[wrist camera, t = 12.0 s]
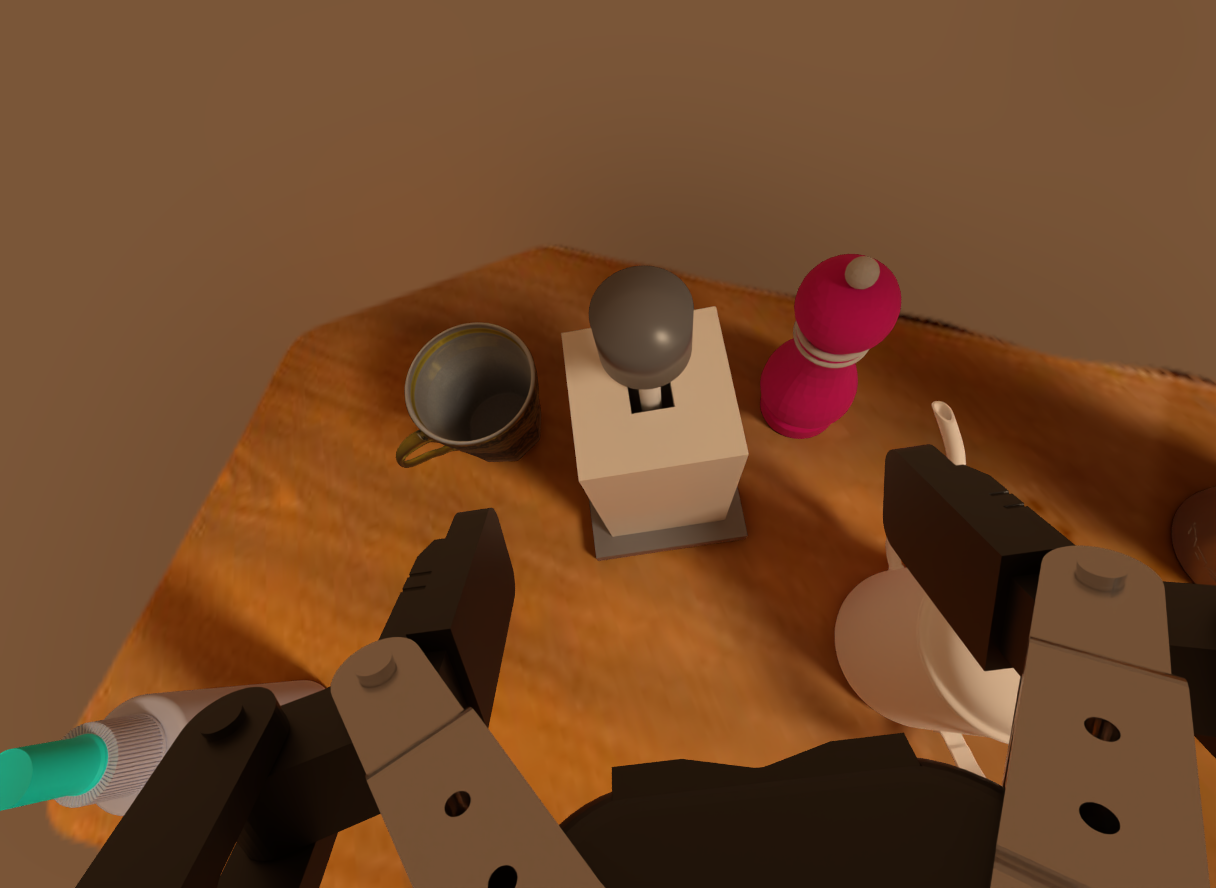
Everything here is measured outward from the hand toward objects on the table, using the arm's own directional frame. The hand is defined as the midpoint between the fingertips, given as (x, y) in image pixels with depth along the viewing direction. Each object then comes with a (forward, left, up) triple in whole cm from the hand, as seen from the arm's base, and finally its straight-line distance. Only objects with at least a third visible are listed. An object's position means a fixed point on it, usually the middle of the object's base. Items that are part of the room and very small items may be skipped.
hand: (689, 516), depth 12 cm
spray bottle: (+31, +4, -37) cm, 48 cm away
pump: (0, -11, -30) cm, 32 cm away
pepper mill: (-13, -15, -37) cm, 42 cm away
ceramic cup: (+14, -17, -37) cm, 43 cm away
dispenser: (0, -11, -36) cm, 38 cm away
